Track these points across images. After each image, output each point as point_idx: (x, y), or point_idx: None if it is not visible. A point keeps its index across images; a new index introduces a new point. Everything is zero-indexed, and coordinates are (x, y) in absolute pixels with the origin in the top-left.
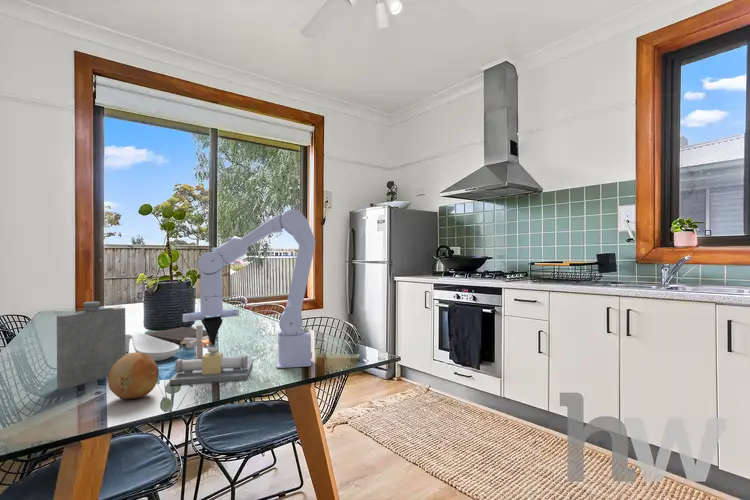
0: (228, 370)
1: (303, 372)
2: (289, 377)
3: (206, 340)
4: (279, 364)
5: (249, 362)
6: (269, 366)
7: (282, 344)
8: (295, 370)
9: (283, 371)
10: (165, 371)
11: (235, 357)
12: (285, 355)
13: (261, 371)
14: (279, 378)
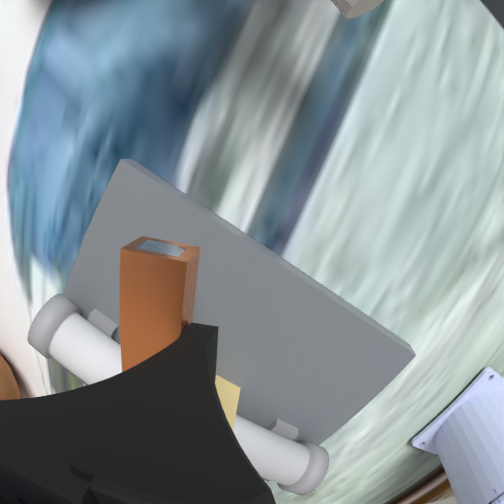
0: (247, 419)
1: (413, 486)
2: (361, 499)
3: (160, 310)
4: (436, 429)
5: (384, 377)
6: (423, 403)
7: (458, 495)
8: (420, 469)
9: (397, 464)
10: (60, 142)
11: (267, 475)
12: (445, 470)
13: (361, 436)
14: (340, 496)
